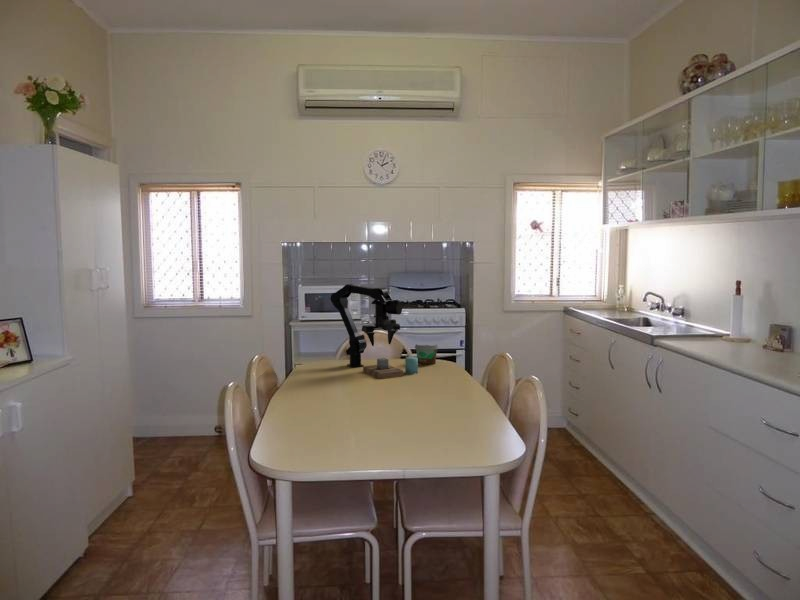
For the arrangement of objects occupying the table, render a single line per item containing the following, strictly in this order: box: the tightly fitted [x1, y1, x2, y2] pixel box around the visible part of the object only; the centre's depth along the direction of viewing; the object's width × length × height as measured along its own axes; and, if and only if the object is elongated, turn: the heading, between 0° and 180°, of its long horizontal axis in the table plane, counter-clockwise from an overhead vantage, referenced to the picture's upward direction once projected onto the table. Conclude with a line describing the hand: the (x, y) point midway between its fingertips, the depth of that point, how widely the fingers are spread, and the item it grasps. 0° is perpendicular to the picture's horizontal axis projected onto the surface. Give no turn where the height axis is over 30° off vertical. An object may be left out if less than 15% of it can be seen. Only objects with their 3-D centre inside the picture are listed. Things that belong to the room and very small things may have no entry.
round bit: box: [404, 356, 419, 375], centre depth 270 cm, size 6×6×7 cm
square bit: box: [376, 357, 389, 370], centre depth 268 cm, size 4×4×7 cm
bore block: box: [362, 364, 404, 380], centre depth 268 cm, size 18×12×2 cm, turn 30°
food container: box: [414, 343, 439, 366], centre depth 289 cm, size 12×6×10 cm, turn 73°
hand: (381, 345), depth 277 cm, fingers open, 9 cm apart
